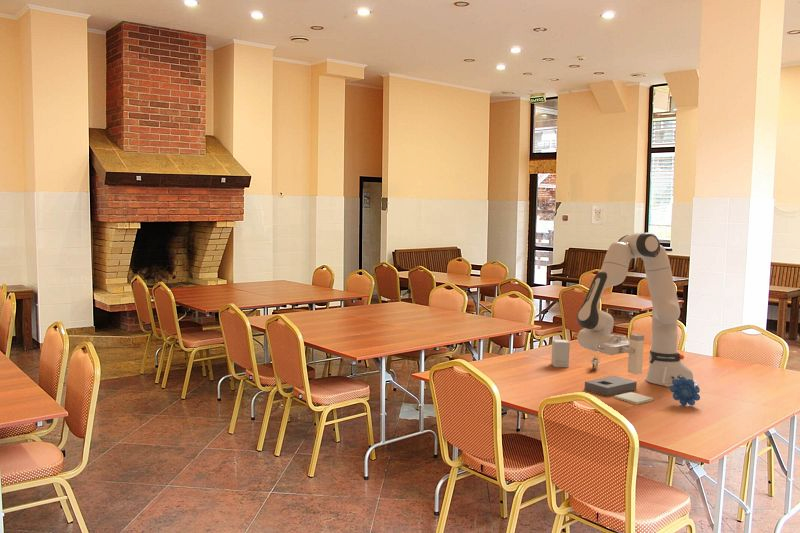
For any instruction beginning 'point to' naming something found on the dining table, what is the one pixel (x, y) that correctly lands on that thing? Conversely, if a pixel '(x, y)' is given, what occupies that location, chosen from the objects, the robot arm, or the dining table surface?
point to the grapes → (685, 391)
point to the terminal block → (610, 385)
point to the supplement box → (560, 353)
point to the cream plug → (636, 354)
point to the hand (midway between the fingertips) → (637, 350)
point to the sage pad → (634, 398)
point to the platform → (595, 362)
